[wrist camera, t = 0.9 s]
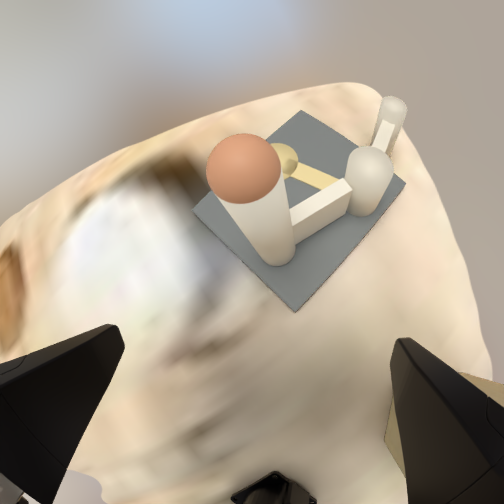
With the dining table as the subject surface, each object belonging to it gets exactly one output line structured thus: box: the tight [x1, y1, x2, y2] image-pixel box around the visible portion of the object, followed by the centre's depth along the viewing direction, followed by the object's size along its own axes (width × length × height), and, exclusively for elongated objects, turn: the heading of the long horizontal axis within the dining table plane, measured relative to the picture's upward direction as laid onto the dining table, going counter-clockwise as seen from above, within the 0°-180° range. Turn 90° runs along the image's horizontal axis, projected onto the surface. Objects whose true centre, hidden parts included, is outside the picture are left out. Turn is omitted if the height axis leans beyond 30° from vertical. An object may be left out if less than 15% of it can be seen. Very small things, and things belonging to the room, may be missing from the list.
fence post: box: [206, 134, 353, 266], centre depth 17 cm, size 8×3×15 cm, turn 119°
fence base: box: [344, 96, 407, 217], centre depth 22 cm, size 10×4×8 cm, turn 149°
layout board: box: [192, 110, 406, 312], centre depth 25 cm, size 16×14×1 cm
